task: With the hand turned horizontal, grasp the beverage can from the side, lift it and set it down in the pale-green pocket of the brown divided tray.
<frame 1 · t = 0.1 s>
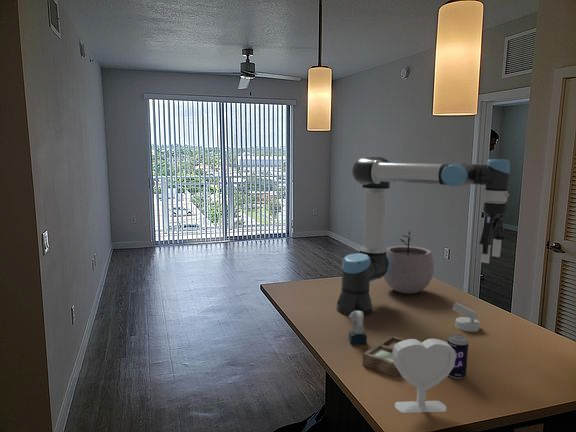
hand: (490, 259, 162), 28 cm above the kitchen island, tool pointing down, fingers open, 13 cm apart
brown divided tray: (392, 359, 142), on the kitchen island
wall hook: (465, 327, 170), on the kitchen island
watch: (357, 342, 156), on the kitchen island
beverage can: (455, 376, 132), on the kitchen island
heart sculpture: (420, 407, 116), on the kitchen island
plant pot: (406, 292, 214), on the kitchen island
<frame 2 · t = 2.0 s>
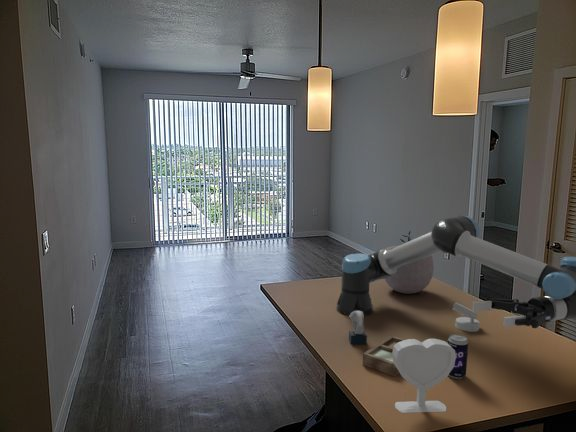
hand: (487, 314, 132), 18 cm above the kitchen island, tool horizontal, fingers open, 13 cm apart
nothing on the kitchen island moved.
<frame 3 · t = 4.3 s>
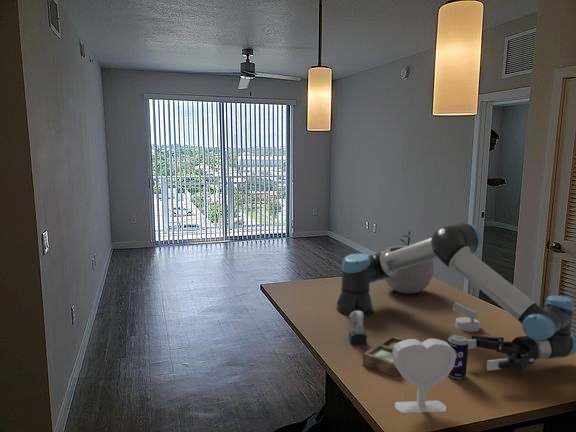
hand: (471, 355, 132), 6 cm above the kitchen island, tool horizontal, fingers open, 13 cm apart
nothing on the kitchen island moved.
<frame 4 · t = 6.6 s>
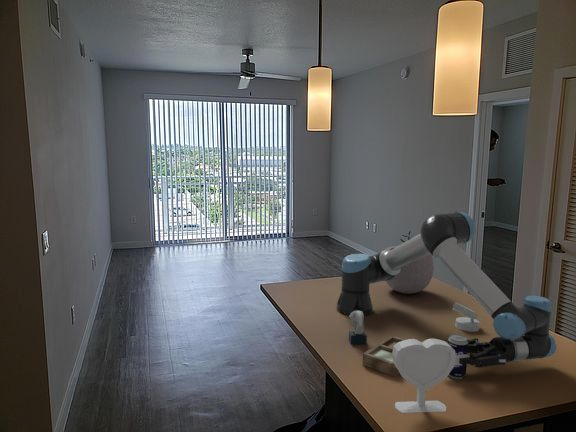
hand: (442, 356, 130), 7 cm above the kitchen island, tool horizontal, fingers closed on beverage can, 6 cm apart
beverage can: (455, 376, 132), on the kitchen island, touching gripper
everything else where it was.
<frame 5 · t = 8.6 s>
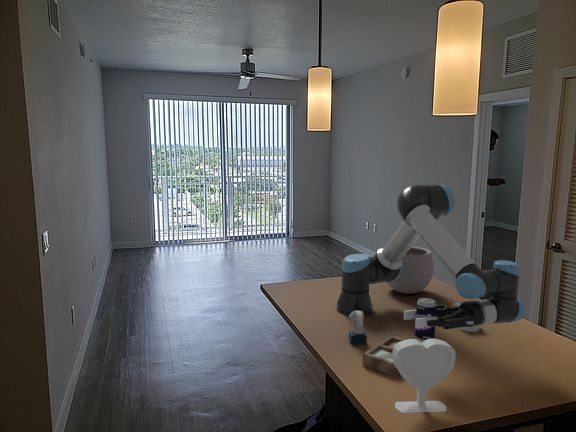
hand: (410, 319, 130), 17 cm above the kitchen island, tool horizontal, fingers closed on beverage can, 6 cm apart
beverage can: (424, 339, 132), point 11 cm above the kitchen island, touching gripper
everything else where it was.
when the fingers open (11 cm above the kitchen island, at t = 10.9 s): beverage can drops 1 cm, resting on brown divided tray.
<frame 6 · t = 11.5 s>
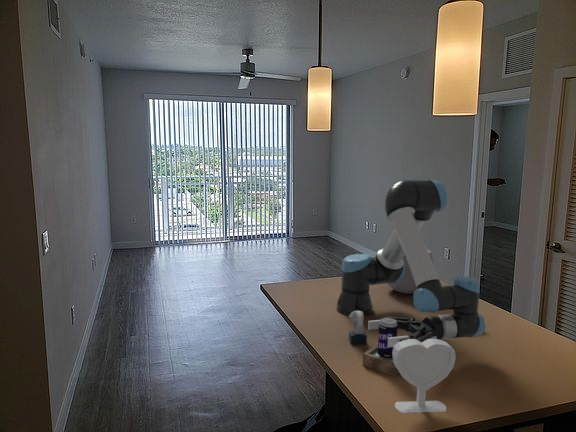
hand: (377, 333, 136), 11 cm above the kitchen island, tool horizontal, fingers open, 13 cm apart
beverage can: (386, 357, 138), point 2 cm above the kitchen island, touching brown divided tray
everything else where it was.
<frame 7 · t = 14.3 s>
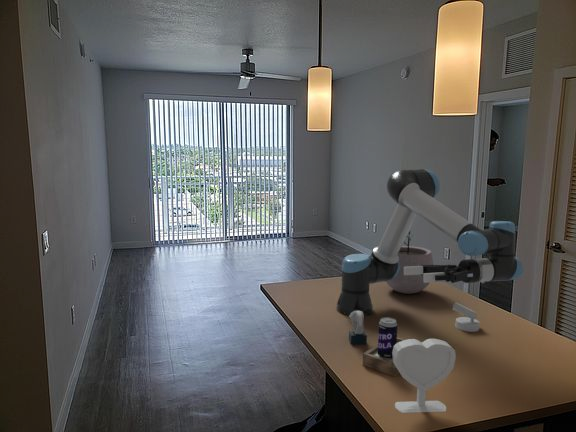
hand: (413, 274, 139), 28 cm above the kitchen island, tool horizontal, fingers open, 13 cm apart
nothing on the kitchen island moved.
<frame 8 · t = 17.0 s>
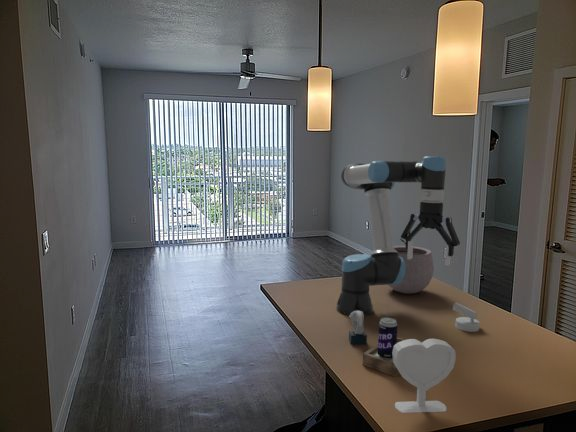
hand: (428, 262, 154), 29 cm above the kitchen island, tool pointing down, fingers open, 13 cm apart
nothing on the kitchen island moved.
at the end: beverage can inside the target area on the brown divided tray (0.3 cm from its centre), point 2.4 cm above the brown divided tray's base; beverage can tilted 0°; the gripper is holding nothing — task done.
